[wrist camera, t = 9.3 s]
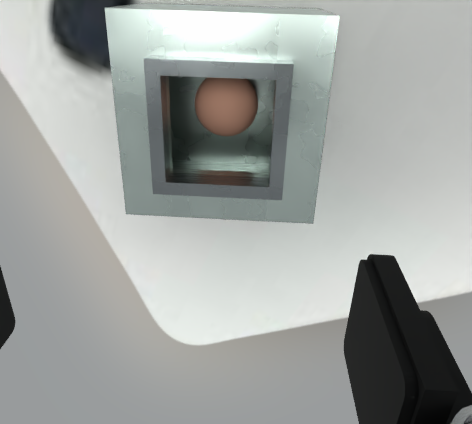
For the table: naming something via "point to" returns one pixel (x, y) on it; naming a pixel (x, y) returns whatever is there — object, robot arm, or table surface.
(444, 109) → the table surface
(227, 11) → the box
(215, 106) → the peach sphere
